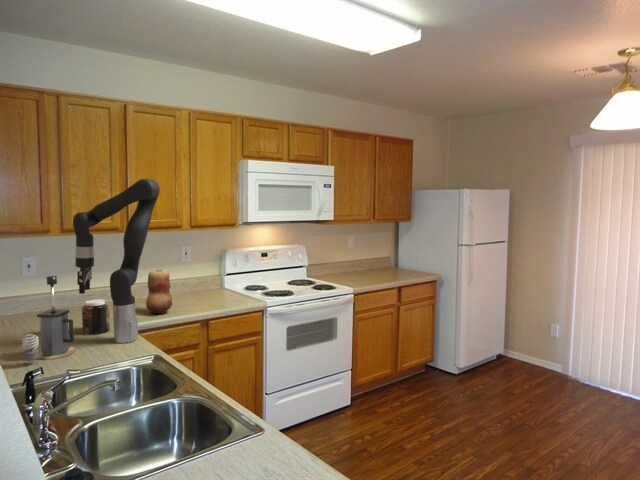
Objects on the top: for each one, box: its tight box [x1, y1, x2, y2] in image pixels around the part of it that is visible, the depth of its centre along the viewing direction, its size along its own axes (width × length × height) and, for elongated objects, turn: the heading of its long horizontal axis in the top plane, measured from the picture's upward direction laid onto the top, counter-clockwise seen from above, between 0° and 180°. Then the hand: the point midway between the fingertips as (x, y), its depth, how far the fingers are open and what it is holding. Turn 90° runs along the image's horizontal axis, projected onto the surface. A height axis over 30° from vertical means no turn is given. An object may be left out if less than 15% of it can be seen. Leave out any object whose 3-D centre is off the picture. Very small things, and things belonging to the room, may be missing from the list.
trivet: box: [37, 346, 75, 361], centre depth 191 cm, size 14×14×1 cm
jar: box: [81, 299, 111, 336], centre depth 222 cm, size 12×12×15 cm
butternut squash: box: [145, 268, 173, 315], centre depth 256 cm, size 14×13×25 cm
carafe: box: [36, 309, 75, 356], centre depth 190 cm, size 13×10×17 cm
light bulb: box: [21, 333, 40, 365], centre depth 179 cm, size 6×6×12 cm
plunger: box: [46, 275, 58, 313], centre depth 189 cm, size 7×7×20 cm
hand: (84, 291), depth 207 cm, fingers open, 8 cm apart
